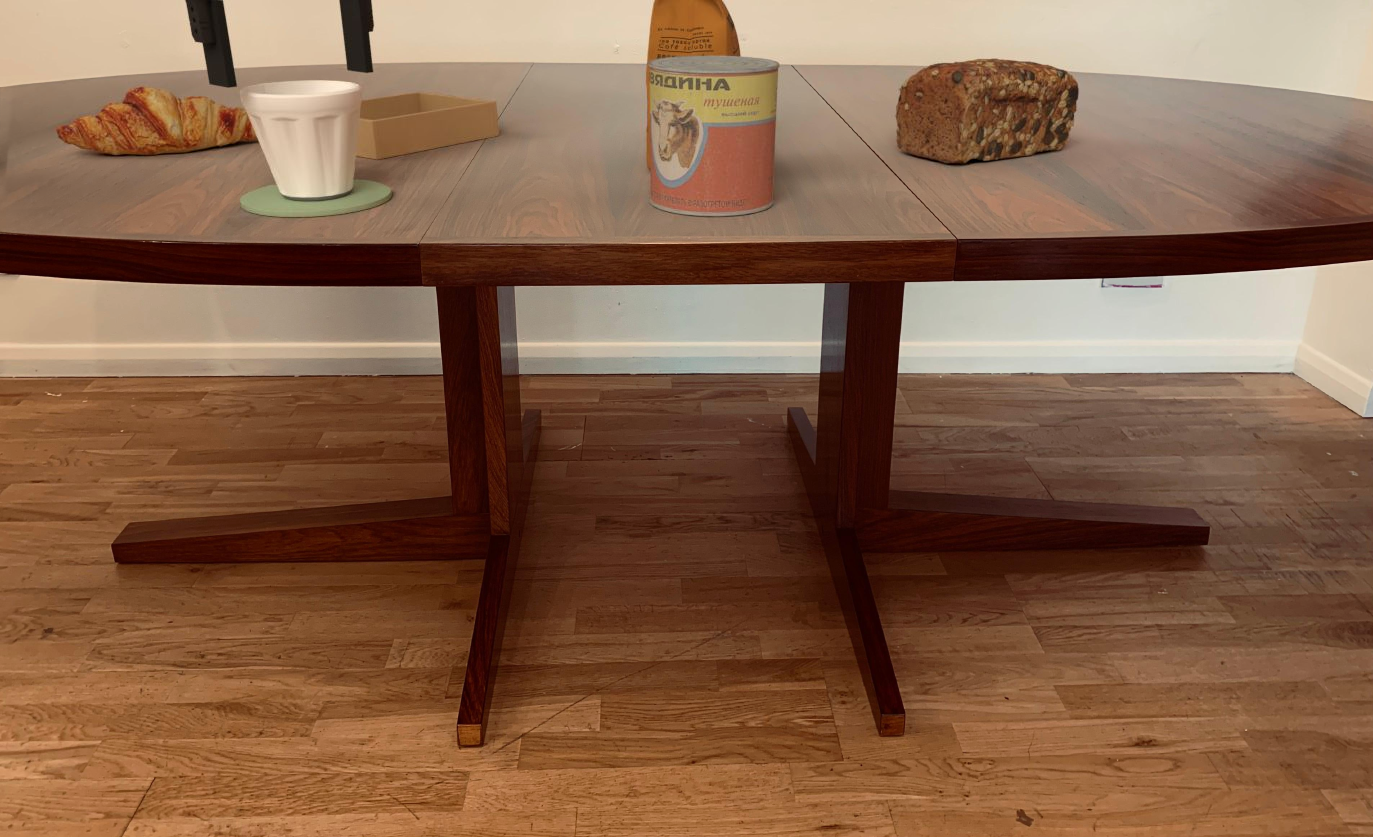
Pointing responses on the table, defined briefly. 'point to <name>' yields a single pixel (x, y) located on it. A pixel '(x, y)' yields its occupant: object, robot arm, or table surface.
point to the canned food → (712, 134)
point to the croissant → (158, 125)
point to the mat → (276, 205)
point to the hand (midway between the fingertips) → (295, 78)
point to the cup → (307, 134)
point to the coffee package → (688, 35)
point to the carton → (422, 123)
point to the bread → (985, 110)
